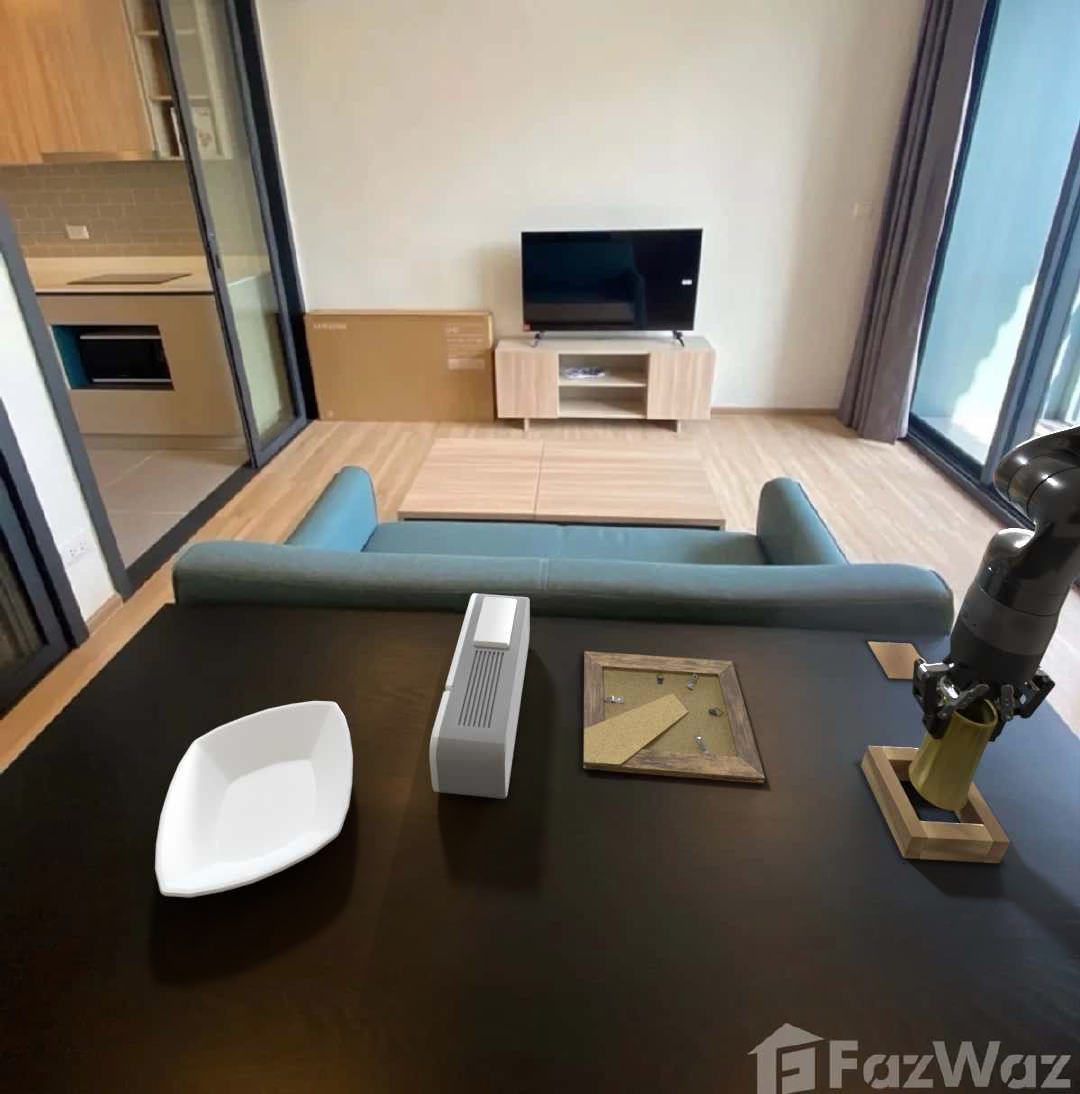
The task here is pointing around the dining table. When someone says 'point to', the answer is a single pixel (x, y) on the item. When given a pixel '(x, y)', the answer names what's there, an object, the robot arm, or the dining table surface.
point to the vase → (953, 755)
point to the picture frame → (667, 718)
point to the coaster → (896, 659)
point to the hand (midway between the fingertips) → (958, 732)
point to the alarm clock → (482, 699)
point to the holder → (931, 839)
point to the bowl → (254, 799)
